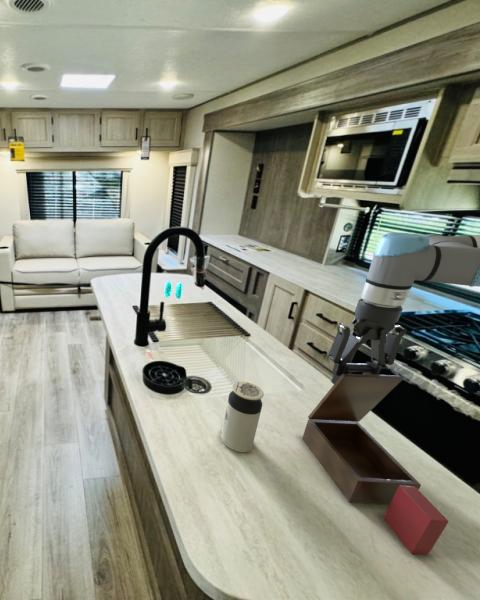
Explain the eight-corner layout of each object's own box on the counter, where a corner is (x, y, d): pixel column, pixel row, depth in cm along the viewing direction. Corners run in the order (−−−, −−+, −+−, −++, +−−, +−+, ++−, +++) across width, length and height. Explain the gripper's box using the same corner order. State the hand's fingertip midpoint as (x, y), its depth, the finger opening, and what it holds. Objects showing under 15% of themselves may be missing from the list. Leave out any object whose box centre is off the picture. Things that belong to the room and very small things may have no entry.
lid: (403, 378, 72) (386, 358, 76) (344, 376, 73) (331, 357, 77) (359, 421, 84) (346, 402, 89) (309, 419, 86) (299, 400, 90)
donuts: (165, 294, 199) (166, 279, 196) (181, 295, 196) (183, 280, 192) (163, 299, 191) (164, 283, 187) (180, 301, 187) (182, 285, 184)
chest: (409, 506, 70) (421, 484, 68) (348, 502, 71) (358, 480, 69) (350, 441, 87) (357, 421, 85) (302, 438, 89) (308, 419, 86)
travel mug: (255, 440, 88) (268, 388, 82) (247, 458, 83) (260, 403, 76) (226, 426, 93) (236, 376, 87) (216, 442, 88) (226, 390, 81)
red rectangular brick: (397, 518, 68) (415, 486, 64) (428, 555, 61) (449, 521, 57) (382, 517, 68) (399, 485, 64) (411, 553, 61) (431, 520, 58)
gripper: (347, 307, 68) (319, 393, 77) (443, 309, 67) (403, 397, 75) (325, 295, 75) (302, 375, 84) (411, 296, 73) (379, 378, 82)
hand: (350, 385), depth 79 cm, fingers closed on lid, 6 cm apart
